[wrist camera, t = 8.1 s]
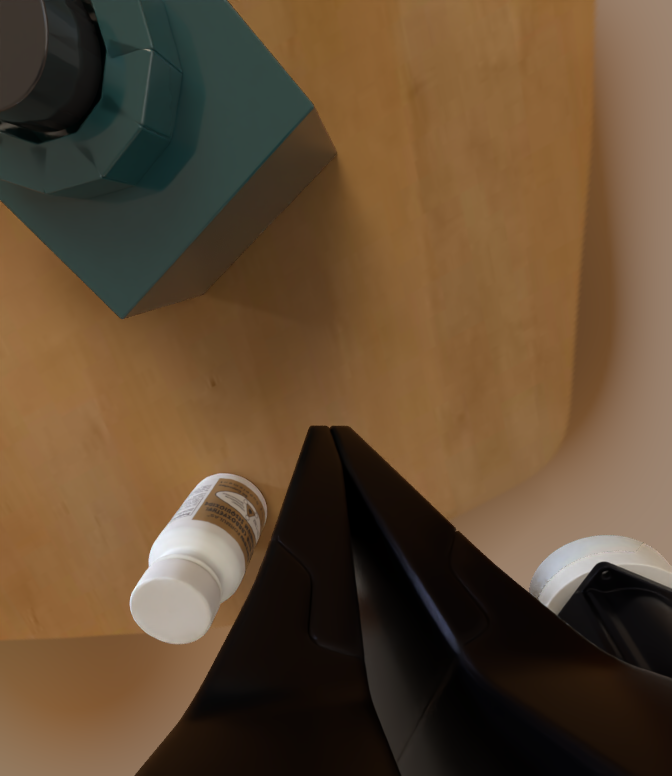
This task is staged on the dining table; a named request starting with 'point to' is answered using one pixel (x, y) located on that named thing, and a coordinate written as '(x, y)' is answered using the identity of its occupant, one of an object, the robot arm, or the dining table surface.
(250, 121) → the teal push button box
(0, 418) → the dining table surface
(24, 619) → the dining table surface
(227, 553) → the pill bottle
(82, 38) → the dark brown button
